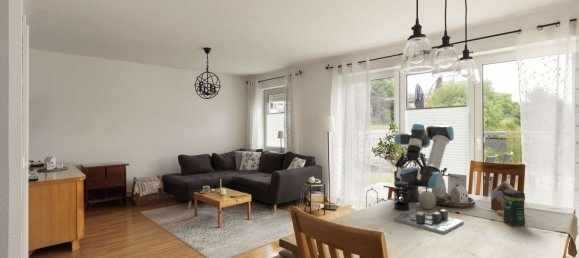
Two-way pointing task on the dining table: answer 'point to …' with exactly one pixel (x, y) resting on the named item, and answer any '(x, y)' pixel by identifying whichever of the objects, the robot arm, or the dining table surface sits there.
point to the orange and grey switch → (420, 217)
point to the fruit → (427, 199)
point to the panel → (429, 222)
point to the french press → (405, 204)
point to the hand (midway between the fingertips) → (407, 178)
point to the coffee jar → (514, 207)
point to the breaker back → (444, 214)
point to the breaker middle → (436, 217)
